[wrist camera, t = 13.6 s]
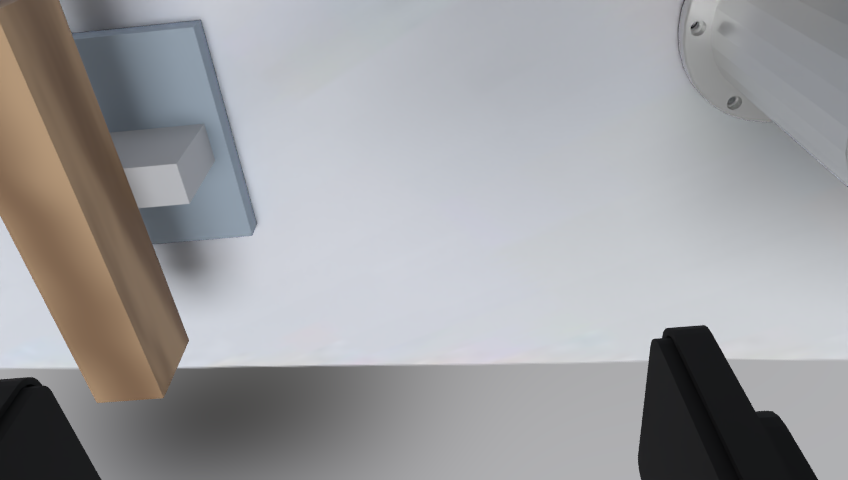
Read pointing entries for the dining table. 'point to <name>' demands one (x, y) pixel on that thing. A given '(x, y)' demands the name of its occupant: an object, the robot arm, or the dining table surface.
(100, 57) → the ridge stand
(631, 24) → the dining table surface
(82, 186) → the walnut batten
